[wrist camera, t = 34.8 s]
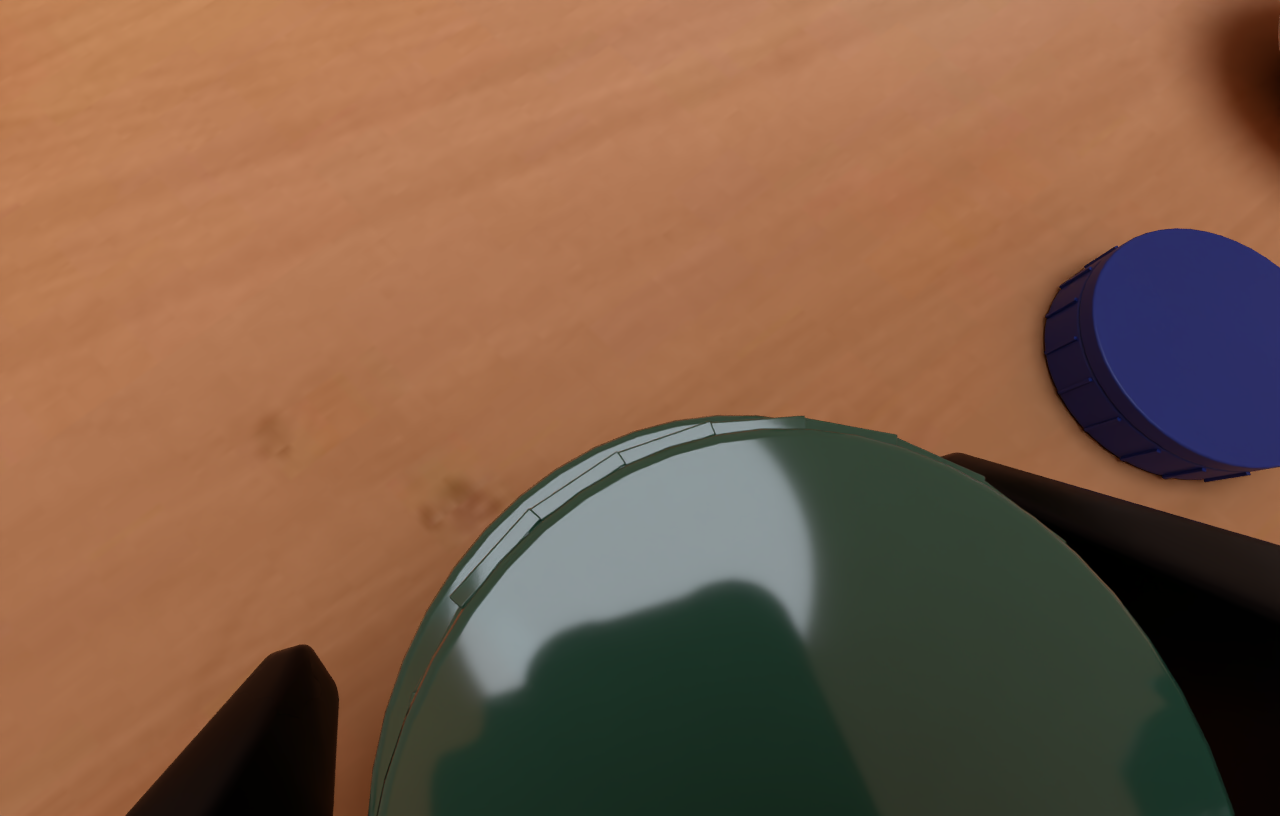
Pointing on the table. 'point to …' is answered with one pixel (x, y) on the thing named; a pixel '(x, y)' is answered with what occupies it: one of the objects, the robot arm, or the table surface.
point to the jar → (781, 647)
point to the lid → (1173, 354)
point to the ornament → (1279, 33)
